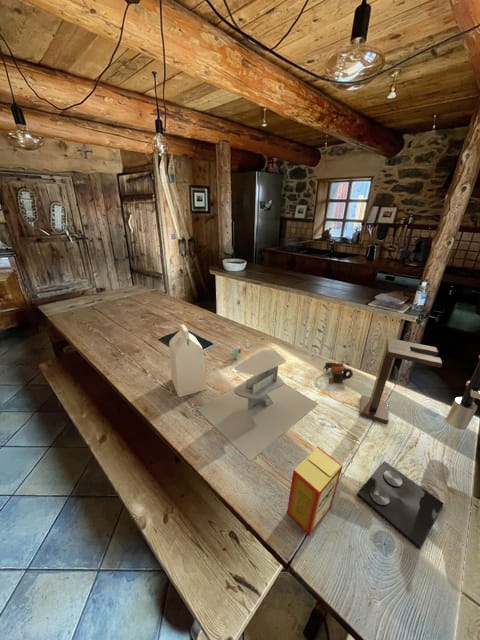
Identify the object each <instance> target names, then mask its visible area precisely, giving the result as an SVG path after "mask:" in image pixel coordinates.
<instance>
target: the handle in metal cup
mask: <svg viewBox="0 0 480 640" xmlns="http://www.w3.org/2000/svg"><path fill="white" fill-rule="evenodd" d="M478 358H479V359H480V354H479V355H478ZM469 381H470V382H469V384H468V386H466V388H465V391H464V393H463V395H462V396H456V397H455V398H454V400H453V401H452V404H451V407H450V409H449V411H448V413H447V415H446V418H445V420H446V422H447V424H449V425H450V426H451V427H453V428H454V429H457V430H461V431H463V430H467V429H468V427H469V425H470V424H471V421H472V419H473V418H474V416H475V413H476V411H477V410H478V405H477V404H476V403H475V400H476V398H474V397H471V395H470V391H471V389H475V390H479V391H480V360H479V361H478V363H477V365H476V367H475V369H474V372H473V374H472V375H471V378H470V380H469Z"/></svg>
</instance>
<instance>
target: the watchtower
mask: <svg viewBox="0 0 480 640" xmlns="http://www.w3.org/2000/svg"><path fill="white" fill-rule="evenodd" d="M286 362H287V359H285V358H284V357H283V356H282V355H281V354H280V353H279V352H278V351H276V350H274V349H262V350H260V351H258V352H256V353H255V354H254V355H252V356H250V357H248V358H247V359H246V360H244V361H243V362H241V363H239V364H237V365H236V366H234V370H236V372H239V373H242V374H246V375H251V377H250V378H248V379H246V380H245V381H244V382H241V383H240V384H238V385H237V386H234V387H233V388H231V389H230V390H227V391H226V392H224V393H223V394H221V395H219V396H217V397H215V398H214V399H212V400H210V401H208V402H207V403H205V404H203V405H202V406H200V407H198V408H196V410H197V412H199V414H201V415H202V417H204V418H205V419H206V420H207V421H208V423H210V425H212V426H213V427H214V428H215V429H216V430H217V432H219V433H220V434H221V435H222V436H223V437H224V438H226V439H227V441H229V442H230V443H231V444H232V446H234V447H235V448H236V449H237V450H238V452H240V453H241V454H242V455H243V456H244V457H245V458H246V459H247V460H248V461H249V462H252V461H253V460H254V459H255V458H257V457H258V456H259V455H260V454H261V453H263V452H264V451H265V450H266V449H267V448H268V447H270V445H273V443H274V442H276V441H277V440H278V439H279V438H280V437H281V436H283V435H284V434H285V433H286V432H288V430H290V429H291V428H292V427H293V426H294V425H296V424H297V423H298V422H299V421H300V420H302V418H303V417H305V416H307V414H308V413H310V412H311V411H312V410H313V409H315V407H316V406H318V405H319V403H318V402H317V401H316V400H313V399H311V398H310V397H308V396H306V395H305V394H303V393H302V392H300V391H299V390H297V389H295V388H293V387H292V386H290V385H289V384H287V383H285V382H284V380H283V379H282V378H281V377H280V376H279V374H278V373H279V366H281V365H283V364H285V363H286Z"/></svg>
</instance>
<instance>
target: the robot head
mask: <svg viewBox="0 0 480 640" xmlns="http://www.w3.org/2000/svg"><path fill="white" fill-rule="evenodd" d="M241 352H242V349H241V346H240V345H234V346H233V347H232V349H231V351H230V353H229V354H230V355H231V356H232V358H233V359H235V360H236V359H238V358H239V357H240V355H241V354H242V353H241Z"/></svg>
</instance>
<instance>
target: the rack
mask: <svg viewBox="0 0 480 640" xmlns="http://www.w3.org/2000/svg"><path fill="white" fill-rule="evenodd" d="M438 354H439V351H438V348H437V347H436V346H431V345H426V344H421V343H416V342H411V341H405V340H400V339H396V338H390V337H387V338H386V344H385V347H384V351H383V354H382V356H381V357H382V358H381V360H380V364H379V368H378V372H377V375H376V378H375V380H374V385H373V388H372V391H371V395H370V396H367V395H363V394H361V396H360V404H359V405H360V408H359V416H361V417H364V418H367V419H371V420H374V421H377V422H381V423H383V424H387V425H388V423H389V421H390V419H389V402H388V401H385V400H382V396H383V392H384V390H385V388H386V387H385V386H386V384H387V380H388V377H389V373H390V371H391V367H392V364H393V361H394V358H396V359H399V360H403V361H409V362H414V363H418V364H422V365H427V366H432V367H436V368H442V367H443V362H442V358H441V357H438Z"/></svg>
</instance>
